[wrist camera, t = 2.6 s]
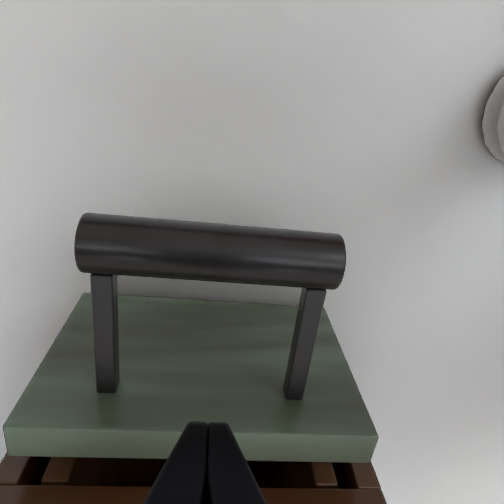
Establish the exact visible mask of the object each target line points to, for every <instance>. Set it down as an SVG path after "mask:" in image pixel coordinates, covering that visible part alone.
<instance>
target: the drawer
mask: <svg viewBox="0 0 504 504" xmlns="http://www.w3.org/2000/svg"><path fill="white" fill-rule="evenodd" d="M74 251H75V261H76V265H77V268H78V269H79V271H81V272H83V273H91V275H90V279H91V293H83V295H82V296H81V298H80V300H79V301H78V303H77V305H76V306H75V308H74V310H73V311H72V313H71V315H70V316H69V318H68V320H67V321H66V323H65V325H64V326H63V328H62V330H61V331H60V333H59V334H58V336H57V338H56V339H55V341H54V343H53V344H52V346H51V348H50V349H49V351H48V353H47V354H46V356H45V358H44V359H43V361H42V363H41V364H40V366H39V368H38V369H37V371H36V372H35V374H34V376H33V377H32V379H31V381H30V382H29V384H28V386H27V387H26V389H25V391H24V392H23V394H22V396H21V397H20V399H19V401H18V402H17V404H16V406H15V407H14V409H13V410H12V412H11V414H10V415H9V417H8V419H7V420H6V422H5V424H4V425H3V431H4V436H5V441H6V447H7V452H8V455H9V456H31V457H51V459H50V461H49V464H48V466H47V468H46V471H45V473H44V475H43V478H42V480H41V485H55V486H141V487H152V486H153V484H154V482H155V480H156V479H157V477H158V475H159V473H160V471H161V470H162V468H163V466H164V464H165V463H166V461H167V459H168V457H169V455H170V454H171V452H172V450H173V448H174V446H175V445H176V443H177V441H178V439H179V438H180V436H181V434H182V432H183V430H184V429H185V427H186V425H187V424H188V422H190V421H205V422H207V424H209V423H210V422H226V423H228V425H229V426H230V428H231V430H232V432H233V434H234V436H235V438H236V441H237V443H238V445H239V447H240V449H241V451H242V453H243V455H244V457H245V459H246V461H247V463H248V465H249V467H250V470H251V472H252V474H253V476H254V478H255V480H256V482H257V484H258V486H259V488H312V489H337V486H338V483H337V480H336V476H335V473H334V469H333V465H332V462H344V463H370V461H371V458H372V455H373V452H374V449H375V446H376V443H377V440H378V434H377V432H376V429H375V427H374V424H373V422H372V420H371V417H370V415H369V413H368V410H367V408H366V406H365V403H364V401H363V399H362V396H361V394H360V392H359V389H358V387H357V384H356V382H355V380H354V377H353V375H352V373H351V370H350V368H349V366H348V363H347V361H346V359H345V356H344V354H343V352H342V349H341V347H340V345H339V342H338V340H337V337H336V335H335V333H334V330H333V328H332V326H331V323H330V321H329V319H328V316H327V314H326V312H325V309H324V308H323V304H324V299H325V295H326V289H331V290H334V289H337V288H338V287H339V286H340V284H341V282H342V279H343V275H344V271H345V264H346V250H345V244H344V240H343V238H342V236H341V235H339V234H334V233H322V232H310V231H298V230H286V229H274V228H262V227H251V226H239V225H227V224H215V223H203V222H191V221H179V220H168V219H156V218H144V217H132V216H120V215H108V214H97V213H85V214H83V215H82V217H81V219H80V221H79V223H78V226H77V230H76V235H75V246H74ZM117 275H126V276H141V277H156V278H170V279H185V280H199V281H214V282H229V283H243V284H258V285H273V286H287V287H302V291H301V296H300V302H299V306H285V305H269V304H254V303H238V302H222V301H206V300H190V299H174V298H158V297H142V296H127V295H118V290H117Z"/></svg>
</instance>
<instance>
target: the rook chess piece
mask: <svg viewBox="0 0 504 504" xmlns="http://www.w3.org/2000/svg"><path fill="white" fill-rule="evenodd" d="M482 129H483V134H484V139H485V144H486V146H487V148H488V149H489V150H490V152H491V153H492V154H493V155H494V157H495V158H496V159H497V160H499V161H501V162H503V163H504V76H503V77H502V78H501V79H500V80H499V81H498V83H497V85H496V87H495V88H494V90H493V92H492V94H491V95H490V97H489V99H488V101H487V102H486V107H485V112H484V117H483V122H482Z"/></svg>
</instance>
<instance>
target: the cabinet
mask: <svg viewBox="0 0 504 504" xmlns="http://www.w3.org/2000/svg"><path fill="white" fill-rule="evenodd" d="M50 459H51V457H31V456H9V455H8V452H7V453H6V455H5V456H4V458H3V460H2V462H1V464H0V504H143V502H144V500H145V498H146V496H147V495H148V493H149V491H150V489H151V488H152V487H141V486H55V485H41V480H42V478H43V475H44V473H45V471H46V468H47V466H48V464H49V461H50ZM332 465H333V469H334V473H335V476H336V480H337V483H338V486H337V489H312V488H260V490H261V492H262V494H263V497H264V499H265V501H266V503H267V504H387V503H386V501H385V498H384V495H383V493H382V491H381V490H380V489H381V487H380V484H379V481H378V479H377V476H376V473H375V471H374V468H373V466H372V463H371V461H370V463H344V462H332Z"/></svg>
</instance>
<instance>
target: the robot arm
mask: <svg viewBox="0 0 504 504" xmlns="http://www.w3.org/2000/svg"><path fill="white" fill-rule="evenodd" d="M143 504H267V503H266V501H265V499H264V497H263V494H262V492H261V490H260V488H259V486H258V484H257V482H256V480H255V478H254V476H253V474H252V472H251V470H250V467H249V465H248V463H247V461H246V459H245V457H244V455H243V453H242V451H241V449H240V447H239V445H238V443H237V441H236V438H235V436H234V434H233V432H232V430H231V428H230V426H229V425H228V423H226V422H210V423H209V424H207V422H205V421H190V422H188V424H187V425H186V427H185V429H184V430H183V432H182V434H181V436H180V438H179V439H178V441H177V443H176V445H175V446H174V448H173V450H172V452H171V454H170V455H169V457H168V459H167V461H166V463H165V464H164V466H163V468H162V470H161V471H160V473H159V475H158V477H157V479H156V480H155V482H154V484H153V486H152V488H151V489H150V491H149V493H148V495H147V496H146V498H145V500H144V502H143Z"/></svg>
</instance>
